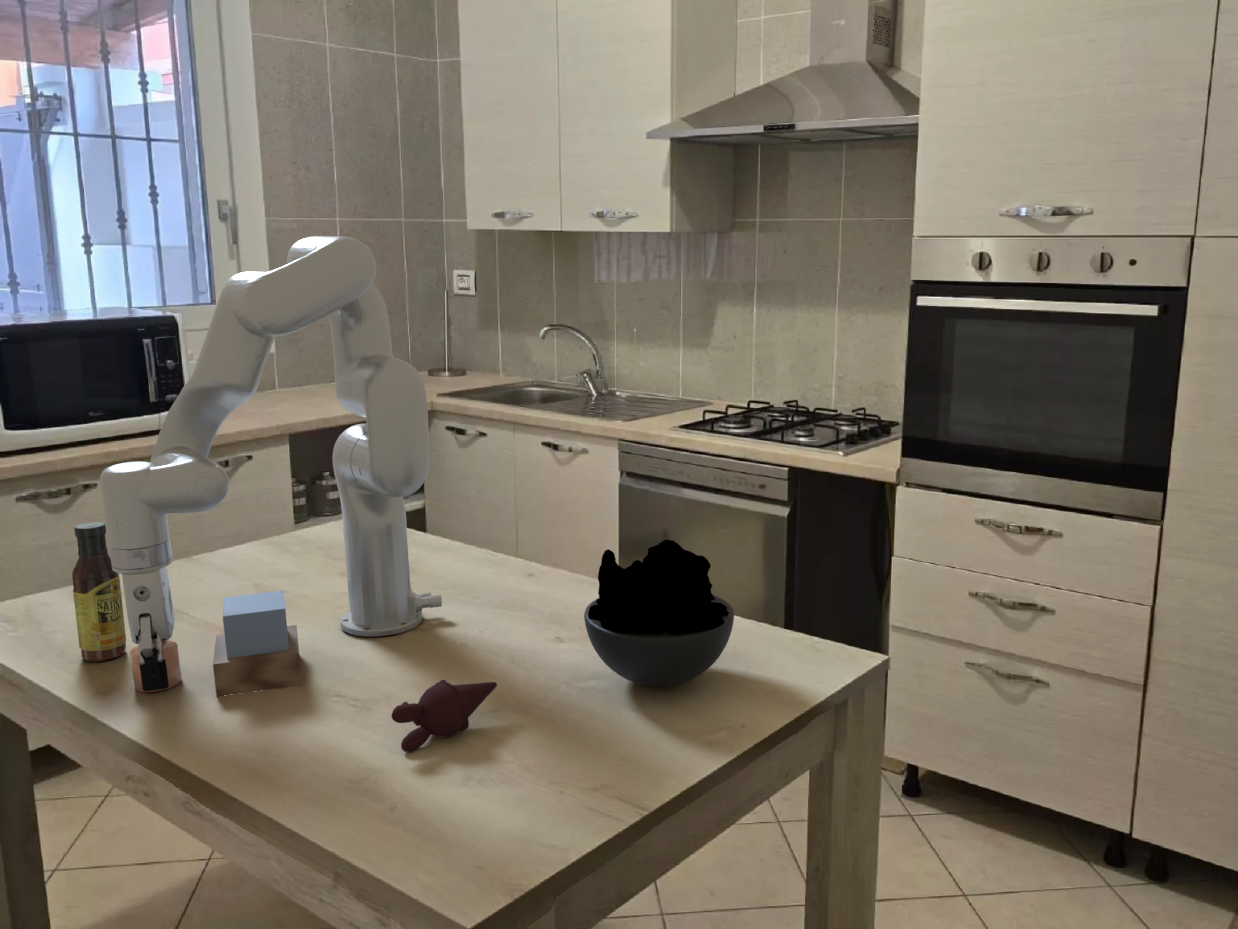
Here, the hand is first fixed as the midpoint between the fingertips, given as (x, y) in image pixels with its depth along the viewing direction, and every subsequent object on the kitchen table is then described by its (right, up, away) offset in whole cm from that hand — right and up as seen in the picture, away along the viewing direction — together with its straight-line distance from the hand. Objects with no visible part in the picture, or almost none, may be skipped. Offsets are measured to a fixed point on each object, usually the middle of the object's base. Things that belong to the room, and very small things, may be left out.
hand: (157, 678), depth 149 cm
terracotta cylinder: (0, -1, 0) cm, 1 cm away
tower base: (+13, 0, +2) cm, 14 cm away
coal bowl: (+69, 0, -2) cm, 69 cm away
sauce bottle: (-12, +1, +11) cm, 16 cm away
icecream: (+43, -4, -16) cm, 45 cm away
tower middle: (+13, +4, +1) cm, 14 cm away
